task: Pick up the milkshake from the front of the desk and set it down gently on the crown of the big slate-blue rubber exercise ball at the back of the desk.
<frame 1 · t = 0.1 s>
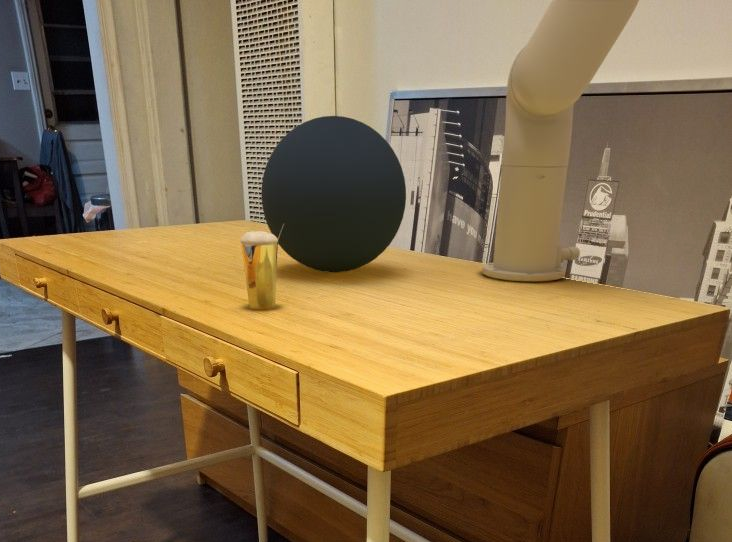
milkshake: (265, 308, 96), on the table
ball: (334, 271, 120), on the table
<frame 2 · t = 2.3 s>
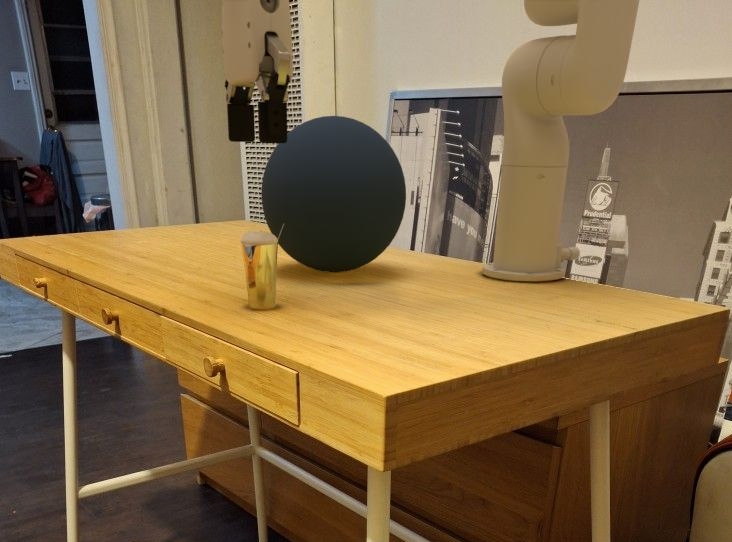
hand: (256, 142, 88), 19 cm above the table, tool pointing down, fingers open, 9 cm apart
nothing on the table moved.
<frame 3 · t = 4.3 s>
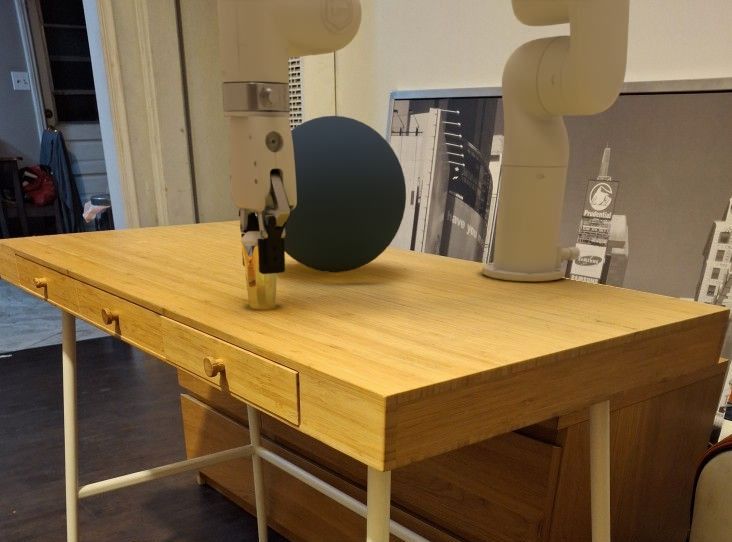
hand: (263, 267, 94), 5 cm above the table, tool pointing down, fingers closed on milkshake, 4 cm apart
milkshake: (265, 308, 96), on the table, touching gripper
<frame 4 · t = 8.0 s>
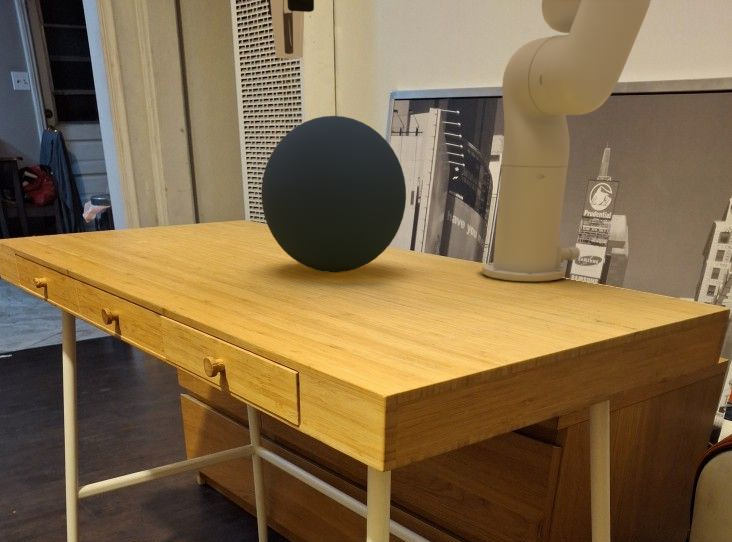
hand: (291, 11, 91), 33 cm above the table, tool pointing down, fingers closed on milkshake, 4 cm apart
milkshake: (292, 59, 93), point 28 cm above the table, touching gripper
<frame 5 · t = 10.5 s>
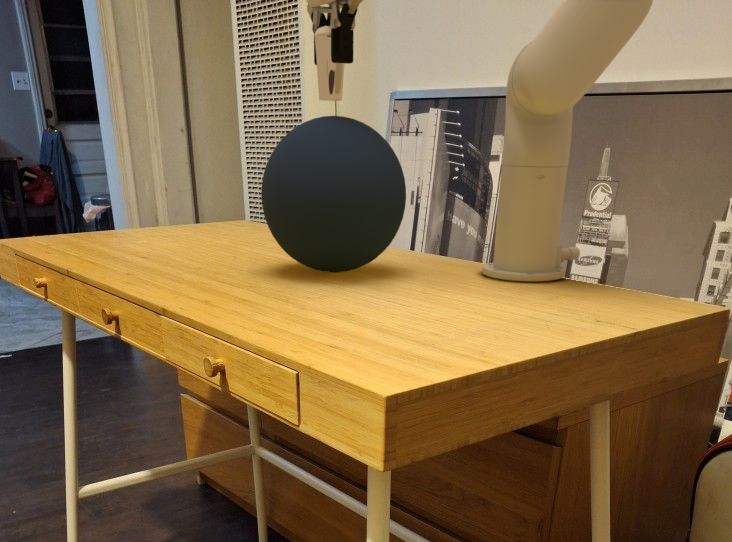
hand: (333, 62, 107), 29 cm above the table, tool pointing down, fingers closed on milkshake, 4 cm apart
milkshake: (333, 102, 109), point 24 cm above the table, touching gripper
when the fingers open (27 cm above the table, at t = 11.9 s): milkshake stays where it is, resting on ball.
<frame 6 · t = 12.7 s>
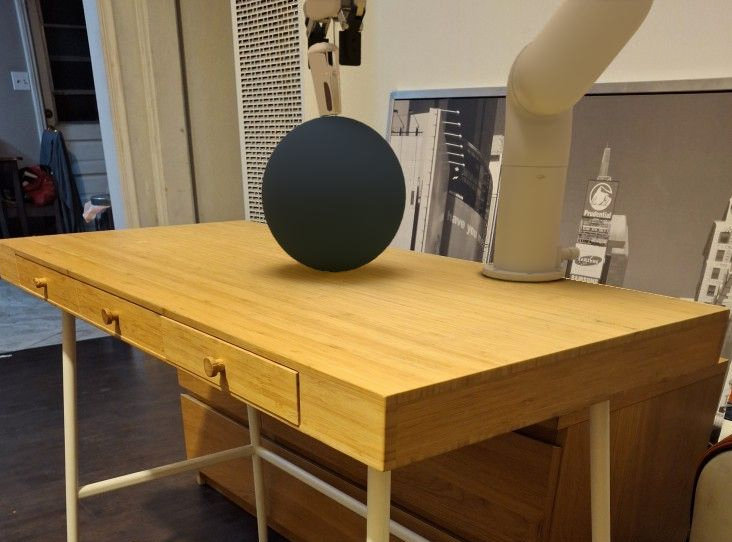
hand: (333, 67, 107), 28 cm above the table, tool pointing down, fingers open, 9 cm apart
milkshake: (333, 116, 110), point 22 cm above the table, touching ball
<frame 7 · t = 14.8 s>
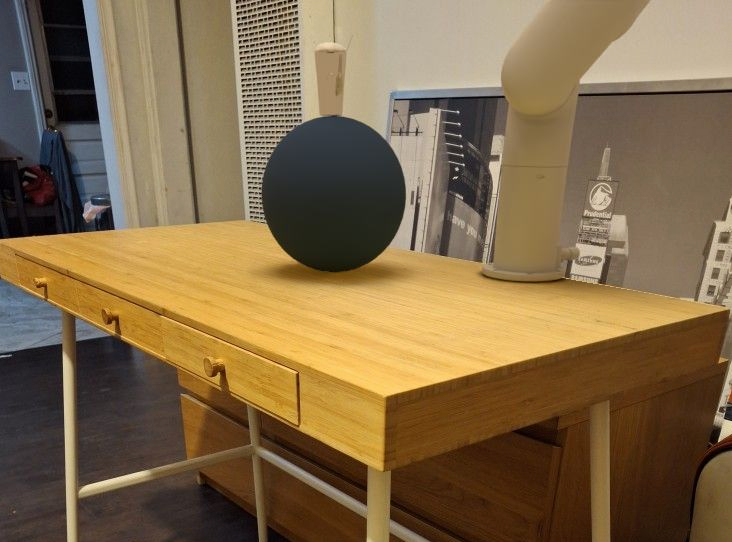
nothing on the table moved.
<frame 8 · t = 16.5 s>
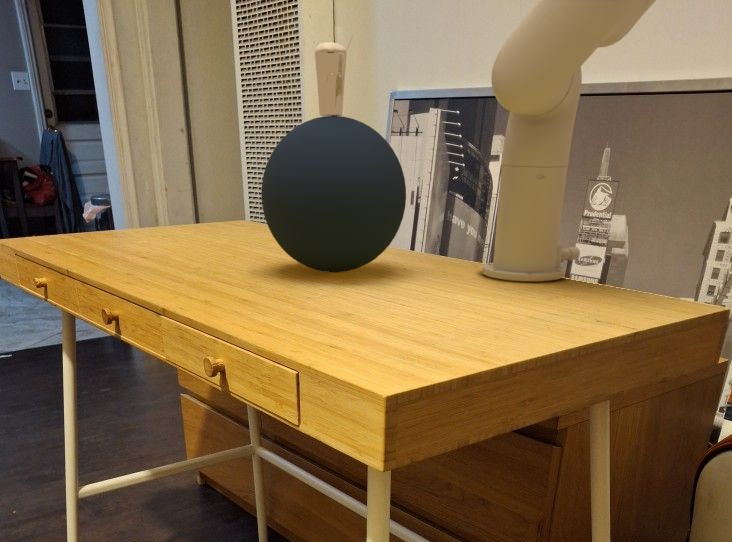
nothing on the table moved.
at the end: milkshake 0.0 cm off-centre on the ball, point 21.8 cm above the ball's base; milkshake tilted 3°; the gripper is holding nothing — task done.
